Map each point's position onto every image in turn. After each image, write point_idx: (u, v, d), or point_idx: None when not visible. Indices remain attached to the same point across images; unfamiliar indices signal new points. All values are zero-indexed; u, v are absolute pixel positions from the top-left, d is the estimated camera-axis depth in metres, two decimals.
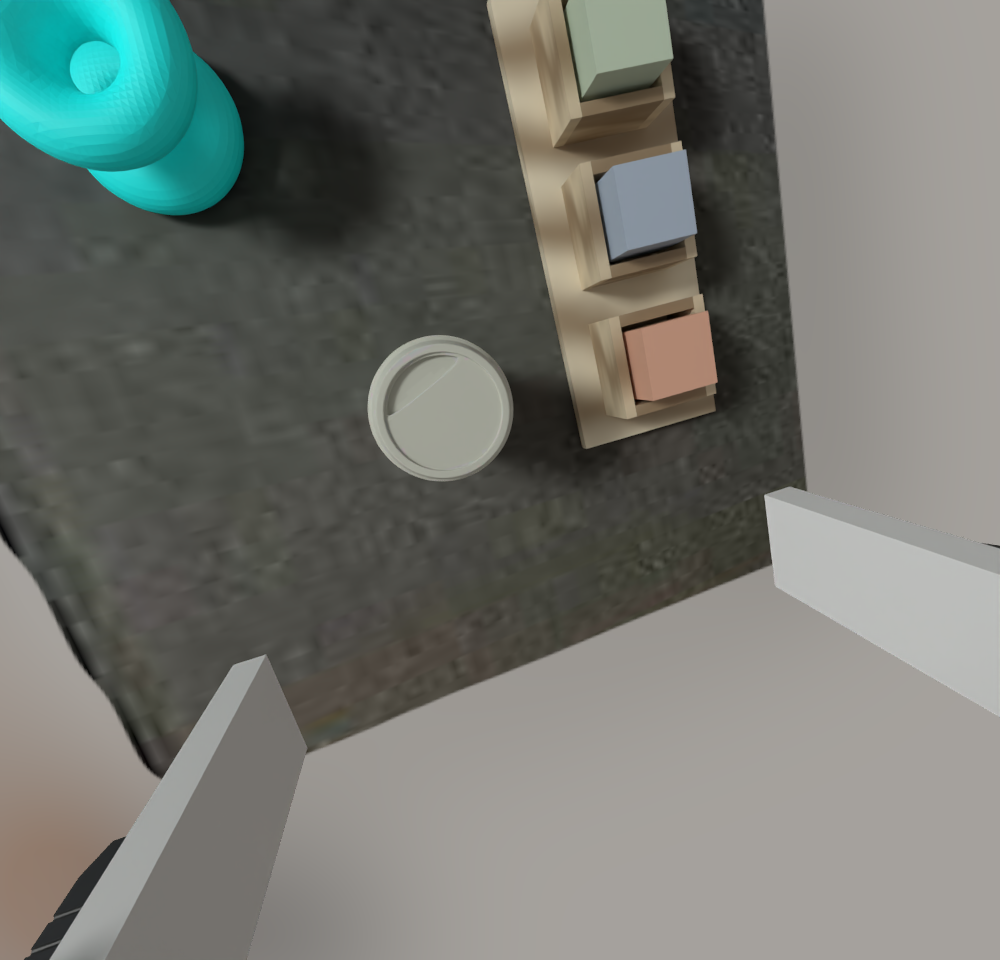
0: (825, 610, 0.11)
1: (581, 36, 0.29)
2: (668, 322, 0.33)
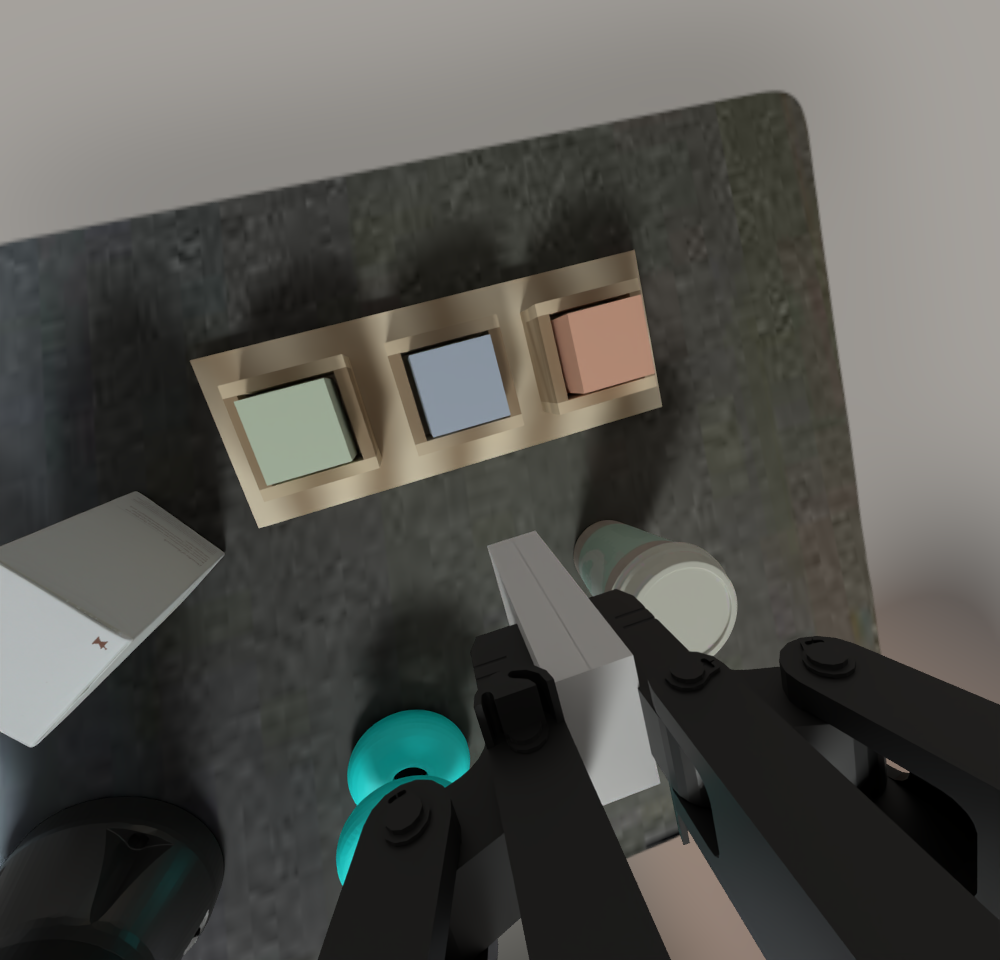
0: None
1: None
2: (578, 361, 0.30)
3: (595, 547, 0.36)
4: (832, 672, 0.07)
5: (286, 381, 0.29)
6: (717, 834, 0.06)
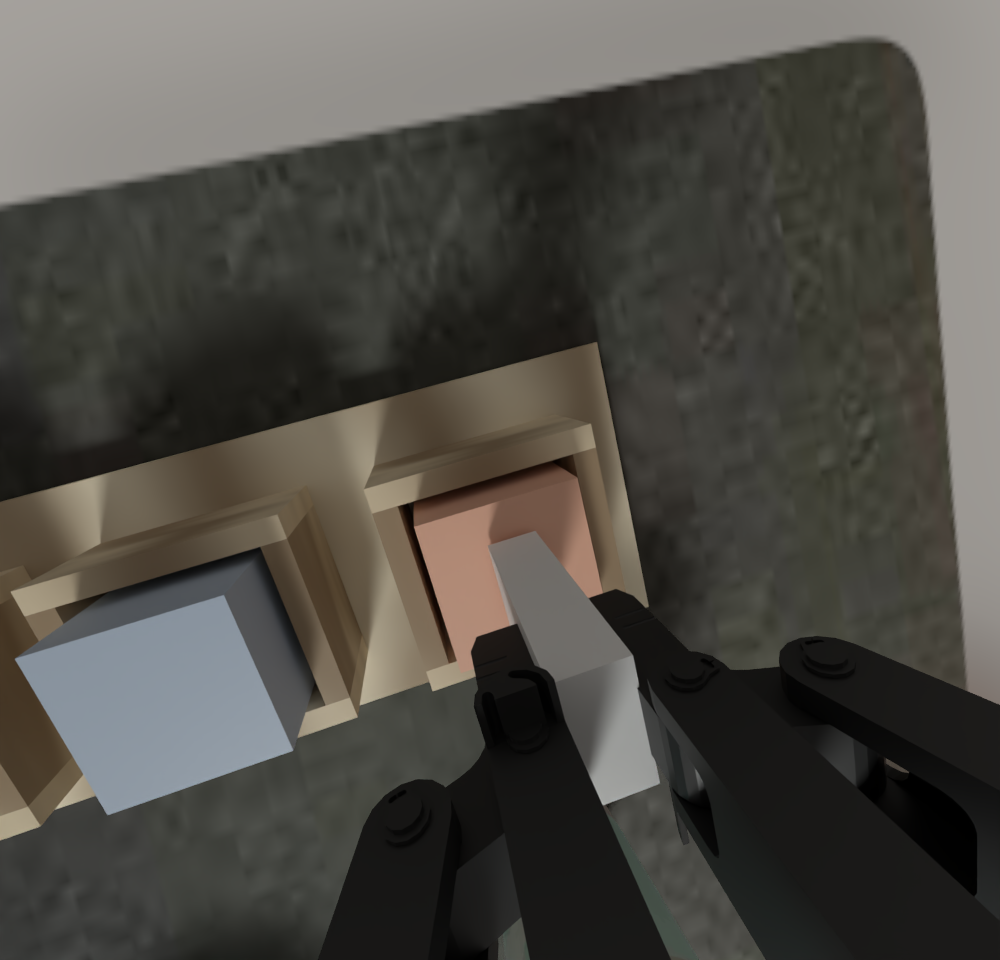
0: None
1: None
2: (445, 615, 0.14)
3: None
4: (832, 672, 0.07)
5: None
6: (717, 834, 0.06)
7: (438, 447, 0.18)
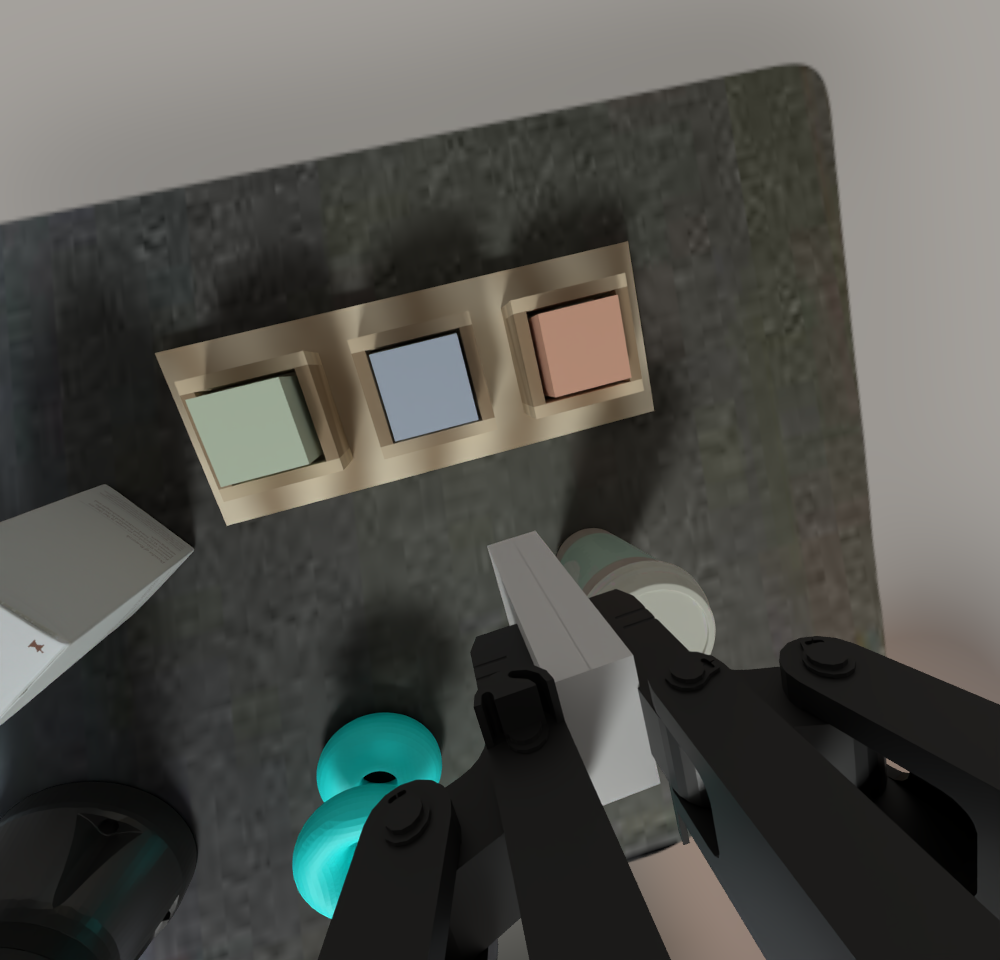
0: None
1: None
2: (549, 364, 0.29)
3: (574, 558, 0.34)
4: (832, 672, 0.07)
5: (245, 378, 0.28)
6: (717, 834, 0.06)
7: None
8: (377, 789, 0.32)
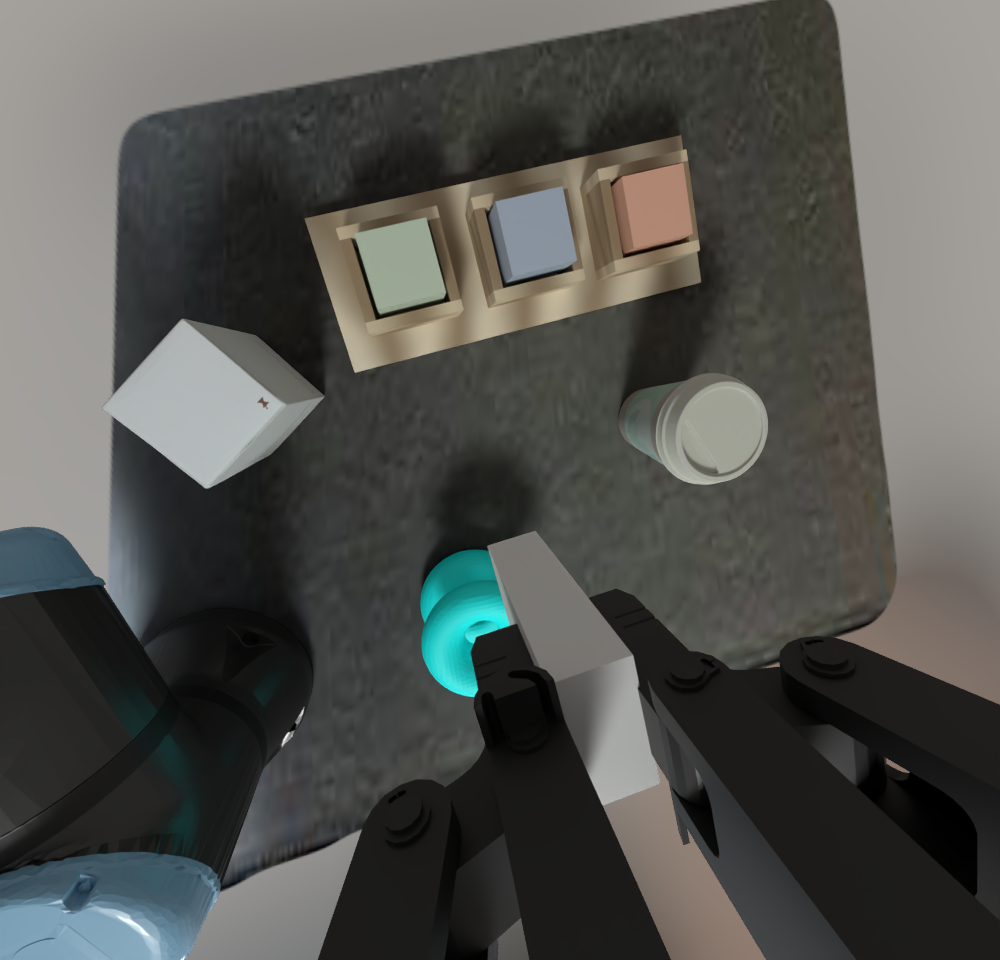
0: None
1: (410, 303, 0.35)
2: (629, 219, 0.36)
3: (641, 399, 0.42)
4: (833, 672, 0.07)
5: None
6: (717, 834, 0.06)
7: None
8: (490, 580, 0.38)
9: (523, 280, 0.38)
